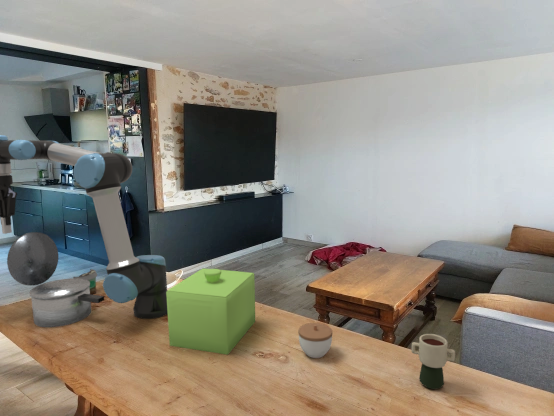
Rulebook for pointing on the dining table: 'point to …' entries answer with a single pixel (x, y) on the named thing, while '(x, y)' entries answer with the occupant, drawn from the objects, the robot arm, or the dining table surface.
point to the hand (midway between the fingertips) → (7, 232)
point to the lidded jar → (315, 339)
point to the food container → (90, 280)
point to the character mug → (432, 359)
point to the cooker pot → (62, 302)
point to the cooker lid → (32, 258)
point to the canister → (211, 310)
